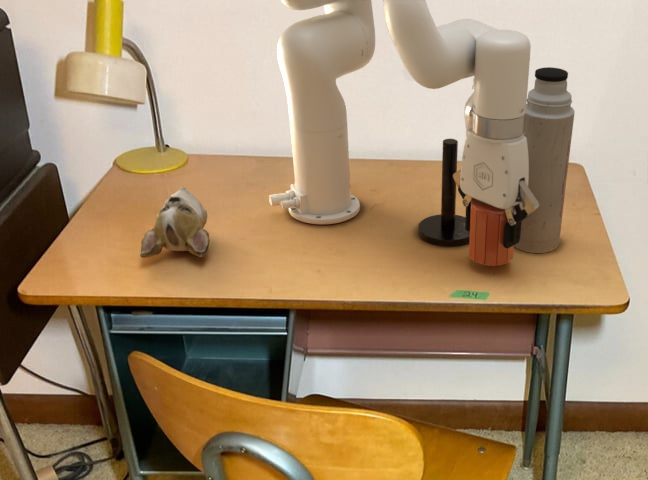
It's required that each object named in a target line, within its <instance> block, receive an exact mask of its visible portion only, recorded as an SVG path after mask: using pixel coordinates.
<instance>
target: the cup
mask: <svg viewBox="0 0 648 480" xmlns="http://www.w3.org/2000/svg"><path fill="white" fill-rule="evenodd" d="M512 208H513V212H514V215H515V214H516V211H515V207H514V206H513V207H512ZM506 223H508V220H507V217H506V213H505V210H504V209H500V208H497V207H494V206H492V205H489V204H487V203H484V202H482V201H479V200H477V199H474V198H472V200H471V213H470V238H469V243H468V258H469V259H471V260H472V261H473V262H474V263H476V264H479V265H483V266H491V267H492V266H493V267H496V266H497V267H498V266H502V265H506V264H509V263H510V262H511V261H512V260H513V259H514V253H515V252H514V250H515V246H512V247H510V248H505V247H504V246H503V243H504V228H505V224H506Z"/></svg>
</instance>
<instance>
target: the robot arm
mask: <svg viewBox="0 0 648 480" xmlns="http://www.w3.org/2000/svg"><path fill="white" fill-rule="evenodd" d="M382 1H383V2H382V5H383V16H384V21H385V25H386V29H387V31H388V34H389V37H390V39H391V41H392V43H393V45H394V47H395V49H396V52H397V54H398V56H399V58H400V60H401V62H402V64H403V66H404V67H405V69H406V70H407V72H408V74H409V75H410V76H411V78H412V79H413V80H414V81H415V82H416V83H417V84H419V85H420V86H421V87H424V88H426V89H432V90H439V89H441V88H445V87H447V86H449V85H452V84H454V83H456V82H458V81H461V80H464V79H467V78H472V77H473V79H474V90H473V92H474V101H473V108H471V109H470V111H469V115H470V117H473V126H472V128H470V129H469V130H468V133H467V136H466V135H465V141H464V145H463V151H462V157H461V165H460V169H459V170H457V172H456V173H454V174H453V178H454V180H455V183H456V187H458V188H457V191H458V193H459V195H460V197H461V199H462V202H461V203H462V205H463V207H464V208H465V217H466V218H465V230H466V231H468V232H469V231H470V213H471V200H472V198H474V199H477V200H479V201H482V202H484V203H487V204H489V205H492V206H494V207H497V208H500V209H504V210H505V213H506V217H507V220H508V223H506V224H505V228H504V243H503V246H504V247H505V248H510V247H512V246H514V245H516V244H518V243H519V241H520V235H521V223H522V221H523V220H525V219H526V218H527V217H528V216H530V215H531V214H532V212H534V211H535V210H536V209H537V208H538V207H539V202H538V201H537V199H536V198H535V196H534V195H533V193H532V192H531V190H530V189H529V187H528V179H529V158H528V145H527V138H526V137H525V136H524V127H525V115H526V104H527V98H528V87H529V75H530V62H531V49H532V48H531V41H530V39H529V37H528V36H527V35H526V34H524V33H523V32H520V31H516V30H512V29H498V28H495V27H493V26H490V25H487V24H485V23H483V22H480V21H479V20H476V19H473V18H461V19H457V20H455V21H452V22H448V23H445V24H442V25H439V26H437V25H436V23H435V20H434V18H433V16H432V15H431V12H430V10H429V7H428V4H427V0H382ZM280 2H281V3H282V4H283V5H284V6H285V7H287V8H288V9H291V10H292V11H307V10H312V9H316V8H320V7H323V9H324V13H325V14H319V15H315V16H312V17H309V18H305V19H302V20H299V21H296V22H295V23H293V24H290V26H288V27H287V28H286V29H285V30H284V31H283V32H282V34H280V37H279V39H278V41H277V46H276V57H277V63H278V66H279V70H280V73H281V77H282V80H283V85H284V89H285V90H284V91H285V94H286V102H287V110H288V119H289V129H290V130H289V131H290V139H291V152H292V163H293V164H292V165H293V174H294V183H290V184H289V185H290V189H288V190H285V192H283V193H273V194H269V195H268V201H269V204H270V206H271V207H275V206H280V208H281V210H286V209H288V213H289V215H290V216H291V217H292V218H294V219H295V220H297V221H299V222H302V223H306V224H311V225H333V224H334V225H335V224H339V223H343V222H346V221H348V220H351V219H353V218H354V217H356V216H357V215H358V214H359V213H360V211H361V203H360V200H359V198H358V197H356V196H355V195H353V194H352V193H351V177H350V176H351V175H350V151H349V133H348V131H349V130H348V113H347V112H348V111H347V105H346V102H345V99H344V97H343V95H342V93H341V91H340V90H339V88H338V85H337V79H339V78H341V77H343V76H345V75H348V74H351V73H354V72H356V71H358V70H361V69H363V68H364V67H366V66H367V65H368V64H369V63H370V62H371V60H373V59H372V58H373V56H374V54H375V51H376V28H375V19H374V11H373V10H374V9H373V3H372V0H280ZM523 201H524V203H525V207H524V208H523V206H522V203H521V202H523ZM513 206H514V207H515V211H516V214H515V215H514V212H513V208H512V207H513ZM514 247H515V246H514Z"/></svg>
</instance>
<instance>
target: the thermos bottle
mask: <svg viewBox="0 0 648 480" xmlns="http://www.w3.org/2000/svg"><path fill="white" fill-rule="evenodd" d="M534 78H535V80H534V88H532V89H530V90H529V91H528V92H527V101H526V115H525V127H524V136H525V137H526V138H527V145H528V158H529V179H528V187H529V189H530V190H531V192H532V193H533V195H534V196H535V198H536V199H537V201H538V202H539V207H538V208H537V209H536V210H535V211H534V212H532V214H531V215H530V216H528V217H527V218H526V219H525V220H523V221H522V223H521V235H520V241H519V243H518V244H516V245H514V248H517V249H518V250H521V251H522V252H527V253H532V254H545V253H549V252H553V251H555V250H557V248H558V247H559V245H560V238H561V229H562V222H563V213H564V204H565V195H566V188H567V187H566V185H567V178H568V170H569V164H570V163H569V162H570V154H571V146H572V137H573V129H574V121H575V108H573V107H572V105H571V104H572V103H573V100H572V94H571V92H569V91H568V81H567V80H568V78H569V72H568V71H567V70H566V69H563V68H560V67H553V66H552V67H551V66H550V67H540V68H537V69H535V70H534ZM521 203H522V206H523V208H524V207H525V203H524V201H523V202H521Z"/></svg>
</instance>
